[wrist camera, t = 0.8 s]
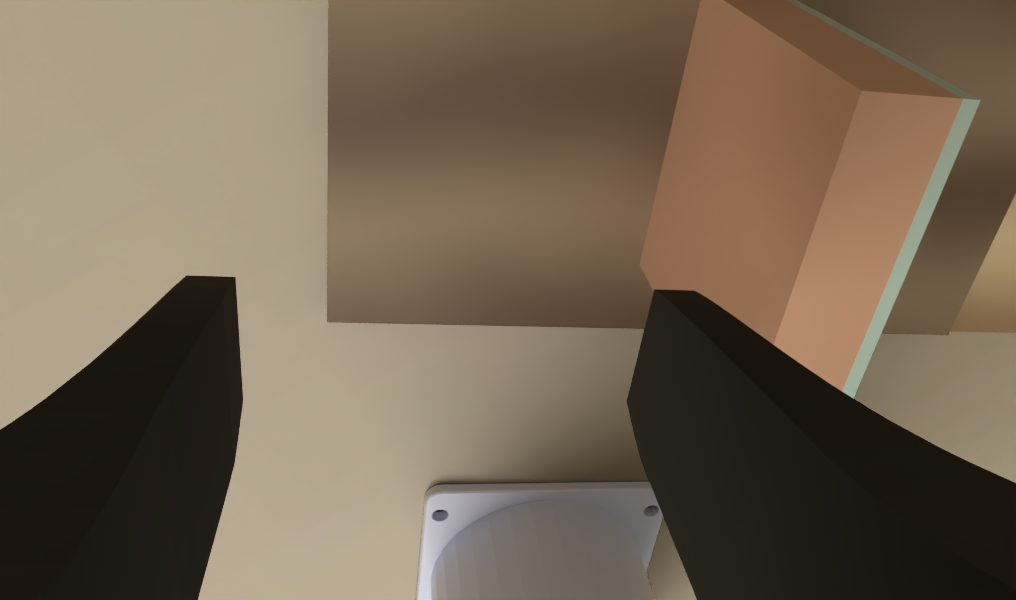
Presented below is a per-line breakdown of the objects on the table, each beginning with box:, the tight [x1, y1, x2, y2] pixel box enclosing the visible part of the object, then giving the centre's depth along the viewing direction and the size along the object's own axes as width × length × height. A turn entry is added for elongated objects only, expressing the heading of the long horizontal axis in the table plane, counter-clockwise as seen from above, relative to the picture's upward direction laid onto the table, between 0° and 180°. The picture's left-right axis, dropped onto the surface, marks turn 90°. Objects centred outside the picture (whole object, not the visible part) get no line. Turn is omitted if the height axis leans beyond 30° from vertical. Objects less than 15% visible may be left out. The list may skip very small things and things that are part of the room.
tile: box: [640, 0, 981, 399], centre depth 17 cm, size 7×2×7 cm, turn 173°
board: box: [327, 0, 1016, 335], centre depth 21 cm, size 11×27×2 cm, turn 83°
